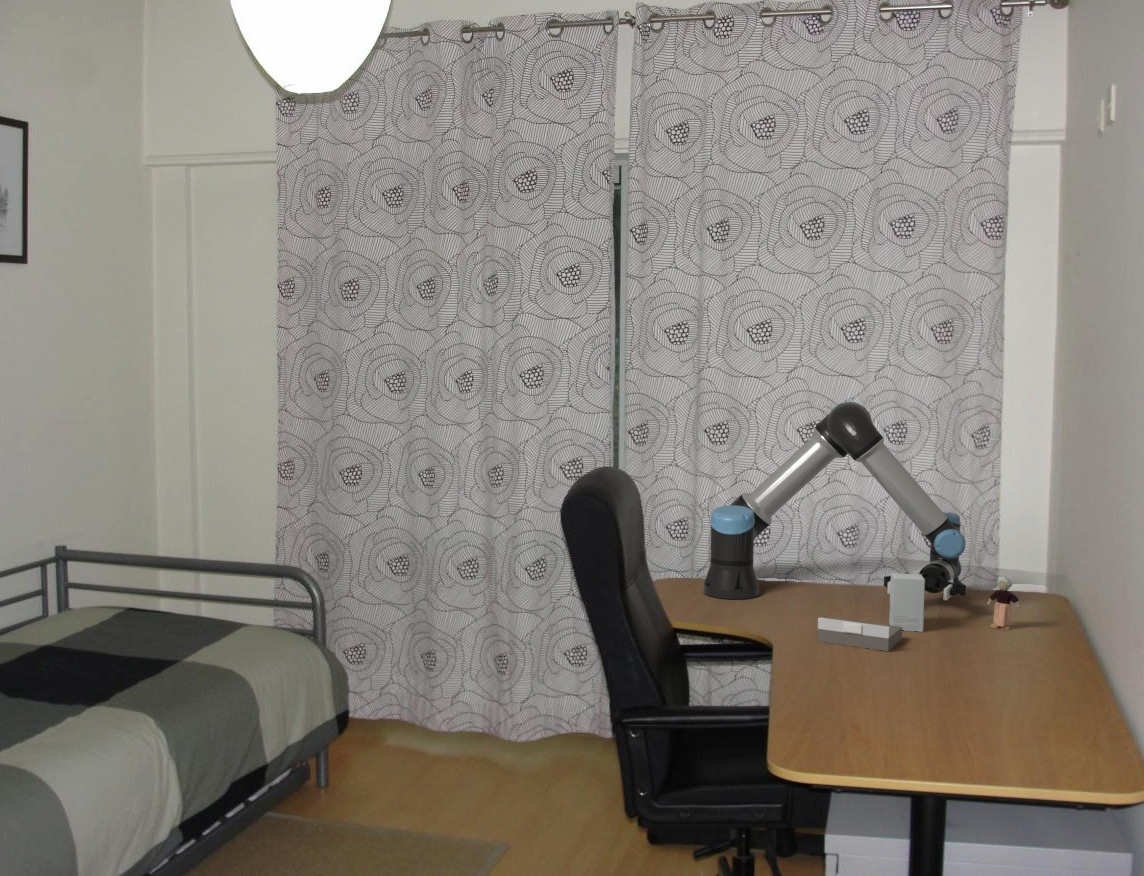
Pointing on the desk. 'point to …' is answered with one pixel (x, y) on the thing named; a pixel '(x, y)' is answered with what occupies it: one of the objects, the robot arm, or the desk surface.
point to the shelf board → (858, 633)
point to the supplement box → (907, 601)
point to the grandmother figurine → (1003, 604)
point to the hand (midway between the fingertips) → (916, 591)
